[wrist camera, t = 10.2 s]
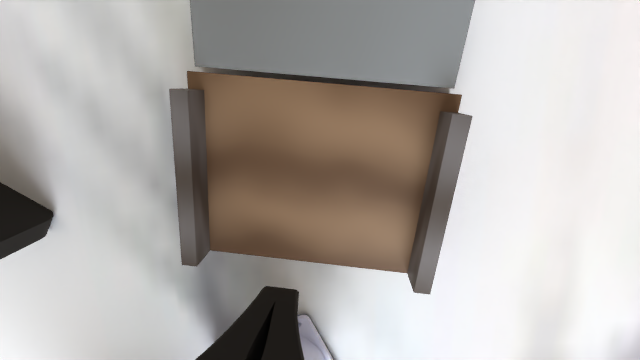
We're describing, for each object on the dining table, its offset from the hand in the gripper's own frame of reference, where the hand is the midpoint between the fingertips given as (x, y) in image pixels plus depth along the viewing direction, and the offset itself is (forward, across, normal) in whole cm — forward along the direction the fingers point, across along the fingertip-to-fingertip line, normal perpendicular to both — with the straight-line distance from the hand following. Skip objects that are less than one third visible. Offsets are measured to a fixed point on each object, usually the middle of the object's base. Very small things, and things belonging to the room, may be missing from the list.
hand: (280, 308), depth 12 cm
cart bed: (+10, 0, -2) cm, 11 cm away
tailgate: (+9, 0, -9) cm, 12 cm away
